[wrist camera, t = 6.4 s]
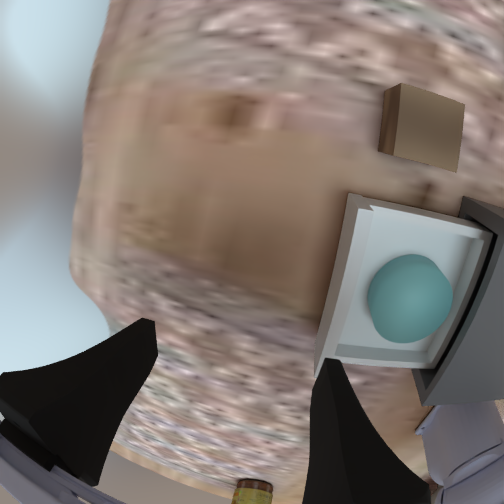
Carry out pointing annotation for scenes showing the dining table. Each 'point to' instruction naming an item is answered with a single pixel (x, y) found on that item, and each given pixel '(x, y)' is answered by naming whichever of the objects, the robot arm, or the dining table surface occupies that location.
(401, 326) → the teal round puck
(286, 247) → the dining table surface
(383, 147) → the walnut block
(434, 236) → the tray
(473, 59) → the dining table surface
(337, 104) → the dining table surface
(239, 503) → the sauce bottle
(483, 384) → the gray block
